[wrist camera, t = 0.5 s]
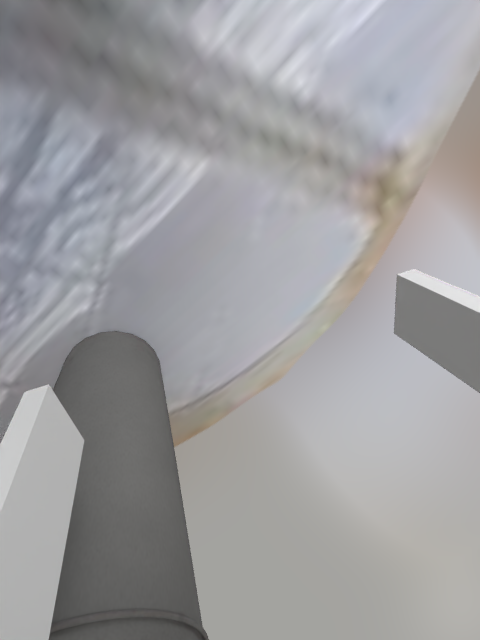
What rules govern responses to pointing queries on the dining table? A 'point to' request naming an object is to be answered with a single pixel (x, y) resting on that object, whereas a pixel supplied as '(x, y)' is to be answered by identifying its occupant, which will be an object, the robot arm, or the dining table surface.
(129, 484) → the canister
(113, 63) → the dining table surface
